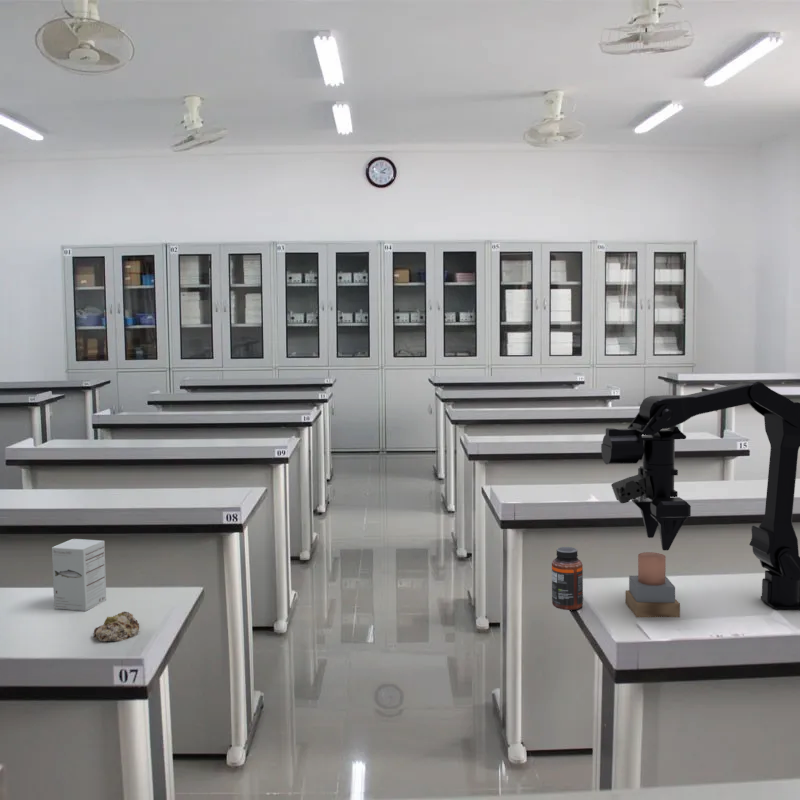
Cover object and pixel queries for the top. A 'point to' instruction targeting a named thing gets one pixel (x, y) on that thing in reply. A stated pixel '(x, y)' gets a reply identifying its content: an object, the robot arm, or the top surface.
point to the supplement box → (79, 574)
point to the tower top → (652, 591)
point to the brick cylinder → (651, 568)
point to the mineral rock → (117, 628)
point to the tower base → (652, 608)
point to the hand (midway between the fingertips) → (657, 543)
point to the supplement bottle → (567, 579)
